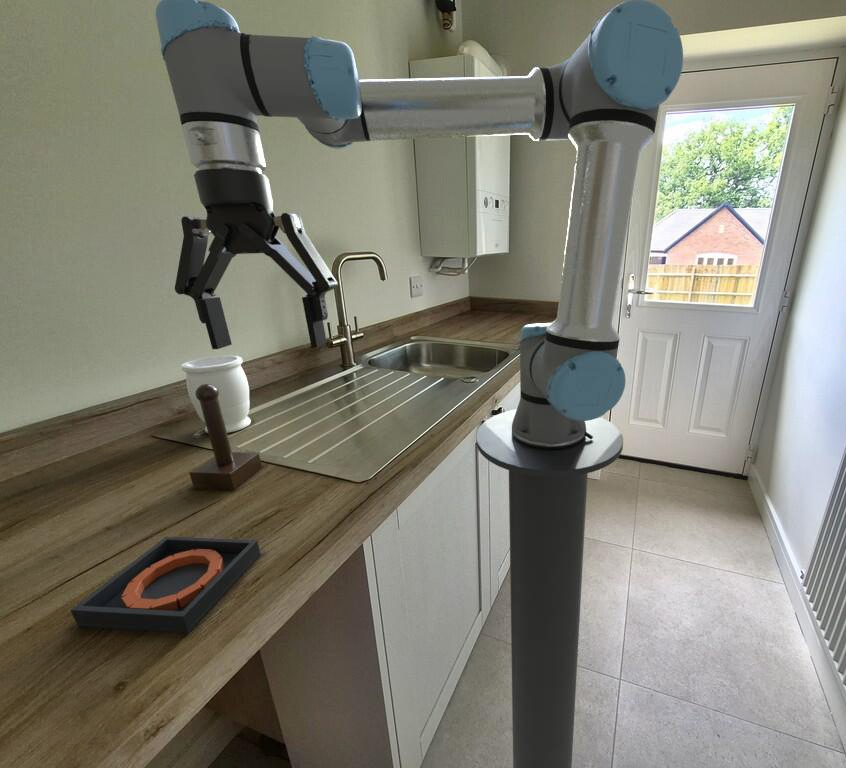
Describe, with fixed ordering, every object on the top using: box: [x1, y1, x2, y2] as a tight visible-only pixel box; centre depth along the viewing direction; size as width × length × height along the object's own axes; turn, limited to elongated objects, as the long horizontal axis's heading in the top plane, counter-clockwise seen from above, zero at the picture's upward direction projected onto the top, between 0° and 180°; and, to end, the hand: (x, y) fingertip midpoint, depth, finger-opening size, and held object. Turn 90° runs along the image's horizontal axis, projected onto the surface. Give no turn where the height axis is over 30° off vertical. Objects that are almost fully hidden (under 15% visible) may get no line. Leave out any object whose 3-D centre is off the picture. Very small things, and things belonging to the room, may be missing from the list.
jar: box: [180, 355, 252, 434], centre depth 87 cm, size 11×10×15 cm
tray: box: [70, 536, 261, 635], centre depth 47 cm, size 12×11×2 cm
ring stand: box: [189, 384, 263, 491], centre depth 67 cm, size 7×7×17 cm
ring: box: [121, 549, 224, 611], centre depth 47 cm, size 9×9×1 cm
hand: (270, 346), depth 55 cm, fingers open, 13 cm apart
